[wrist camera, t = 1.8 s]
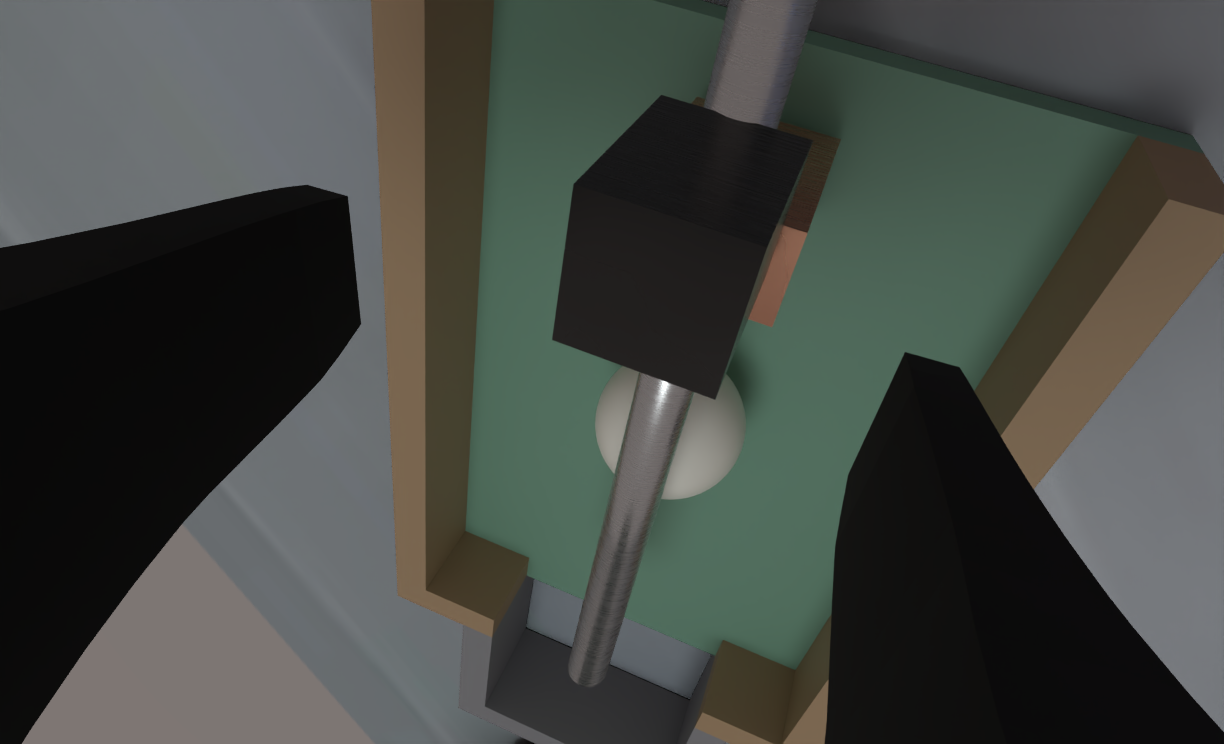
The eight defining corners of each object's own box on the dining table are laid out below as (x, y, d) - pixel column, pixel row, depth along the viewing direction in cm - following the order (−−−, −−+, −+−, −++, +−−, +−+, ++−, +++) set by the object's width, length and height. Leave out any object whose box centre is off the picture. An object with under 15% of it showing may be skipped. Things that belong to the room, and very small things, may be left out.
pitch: (469, -64, 18) (369, -33, 15) (1192, 135, 15) (1248, 221, 12) (447, 608, 36) (401, 681, 33) (768, 750, 34) (749, 843, 31)
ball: (637, 301, 21) (583, 387, 18) (778, 350, 20) (745, 448, 17) (614, 405, 23) (563, 495, 20) (738, 452, 23) (703, 552, 20)
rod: (747, -118, 14) (566, -36, 8) (921, -75, 13) (879, 50, 7) (593, 539, 27) (478, 771, 21) (677, 574, 26) (586, 823, 20)
